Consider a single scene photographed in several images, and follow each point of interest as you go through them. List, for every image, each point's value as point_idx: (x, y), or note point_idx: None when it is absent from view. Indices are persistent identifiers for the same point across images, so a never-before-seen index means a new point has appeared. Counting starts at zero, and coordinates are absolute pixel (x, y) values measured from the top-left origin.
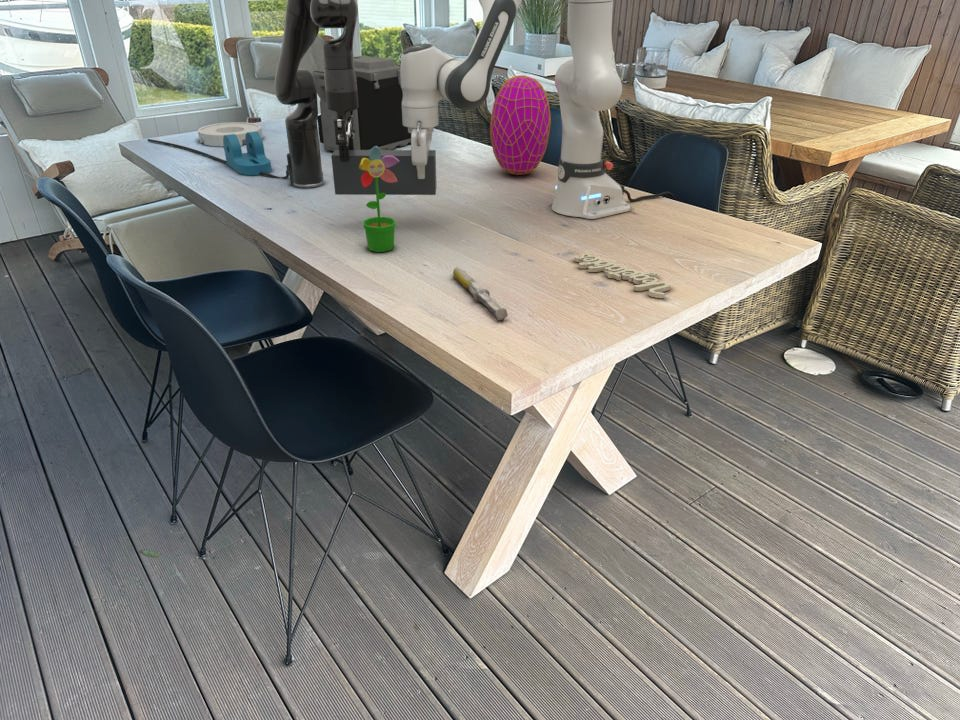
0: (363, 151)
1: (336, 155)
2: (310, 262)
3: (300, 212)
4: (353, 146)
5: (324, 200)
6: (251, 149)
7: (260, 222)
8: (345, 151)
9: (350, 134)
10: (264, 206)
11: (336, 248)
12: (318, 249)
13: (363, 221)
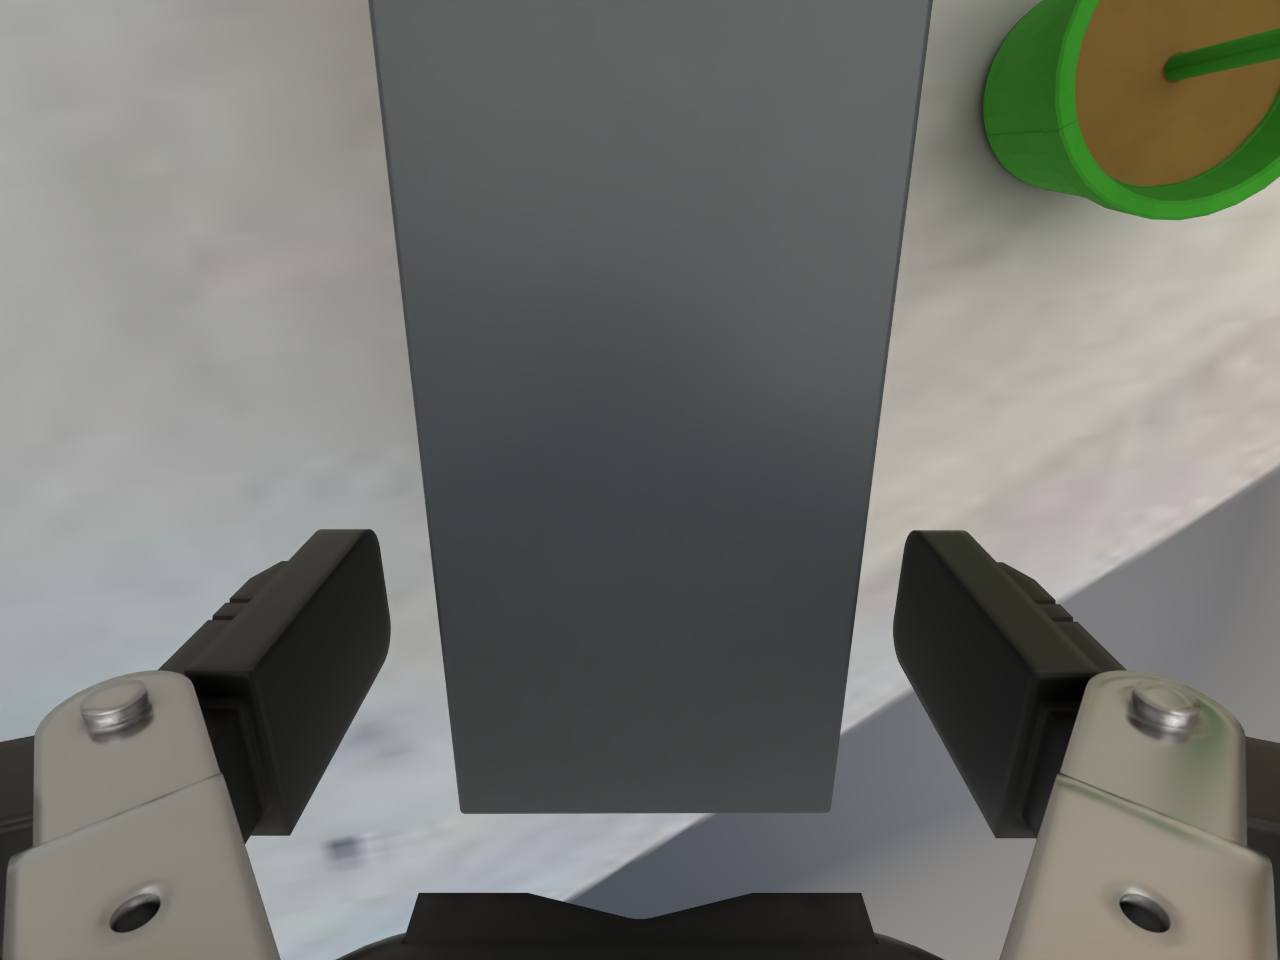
0: (550, 338)
1: (833, 748)
2: (1199, 506)
3: (373, 700)
4: (329, 575)
5: (112, 613)
6: None
7: (561, 843)
8: (1094, 656)
9: (1046, 816)
10: (303, 877)
11: (1007, 401)
12: (1005, 499)
13: (1158, 217)
